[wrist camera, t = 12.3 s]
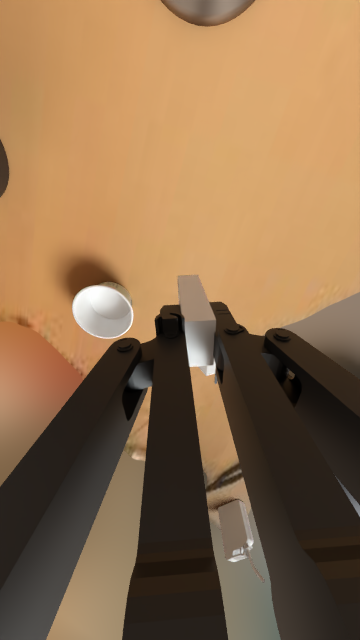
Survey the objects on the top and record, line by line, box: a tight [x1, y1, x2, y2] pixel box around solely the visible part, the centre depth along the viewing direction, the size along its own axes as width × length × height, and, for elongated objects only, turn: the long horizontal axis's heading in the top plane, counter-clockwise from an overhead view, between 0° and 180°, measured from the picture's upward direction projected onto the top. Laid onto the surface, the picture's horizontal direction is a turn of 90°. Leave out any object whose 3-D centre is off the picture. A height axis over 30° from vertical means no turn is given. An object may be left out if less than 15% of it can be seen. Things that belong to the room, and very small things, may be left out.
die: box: [198, 360, 216, 376], centre depth 50 cm, size 8×9×10 cm
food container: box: [72, 282, 133, 338], centre depth 43 cm, size 12×12×6 cm
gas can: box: [218, 499, 265, 583], centre depth 88 cm, size 15×5×25 cm, turn 133°
